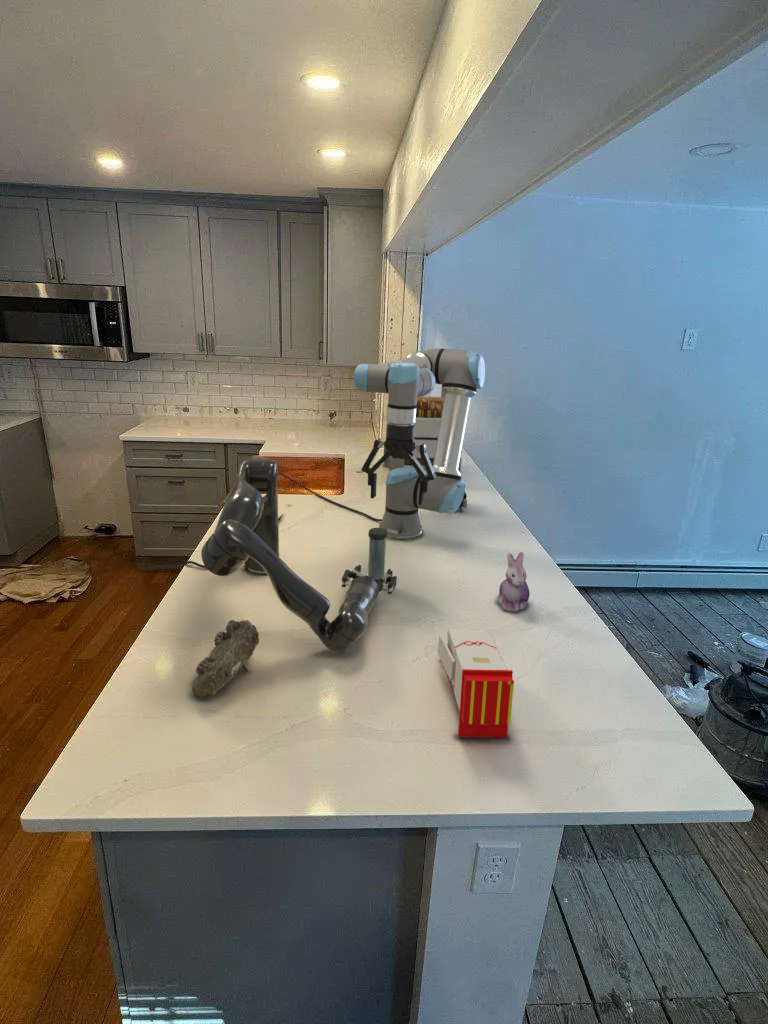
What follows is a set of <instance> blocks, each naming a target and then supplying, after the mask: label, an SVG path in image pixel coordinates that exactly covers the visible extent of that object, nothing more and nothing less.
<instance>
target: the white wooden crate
mask: <svg viewBox="0 0 768 1024" xmlns="http://www.w3.org/2000/svg"><path fill="white" fill-rule="evenodd" d="M440 393H441V394H440V396H422V397H421V396H420V397H417V405H416V422H415V423H414V426H415V437H414V442H415V444H422V443H425V444H426V452H427V455H428V457H429V460H430V462H431V465H432V466H433V462H434V456H435V450H436V444H437V439H438V433H439V427H440V421H441V415H442V410H443V404H444V398H445V394H444V392H443V391H442V390H441V392H440ZM387 411H388V404H387V405H386V413H385V414H386V415H385V423H386V428H385V431H386V430H387V424H388V423H389V422H388V421H387ZM384 441H386V437H385V438H384ZM386 452H387V450H386V448H385V446H384V445H383V455H384V454H385V453H386ZM462 453H463V449H462V450H461V454H462ZM413 454H414V455H415V457H416V459H417V460H418V462H419V463H420V465H421V466H422V467H425V466H424V463H423V461H422V458H421V456H420V453H419V452H418V451H417V449H414V451H413ZM462 461H463V460H462V455H461V456H460V461H459V467H458V471H459V472H460V474H461V475H462V473H461V472H462ZM382 465H383V466H384V467H388V468H389V472H390V471H391V470H393V469H397V468H403V467H405V466H406V467H413V466H412V464H411V463H410V462H409V461H408V460H407V458H406V459H400V458H393V457H391V456H389V457H388V458H387V459H386V460H385V461H384V462H383V463H382Z"/></svg>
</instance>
